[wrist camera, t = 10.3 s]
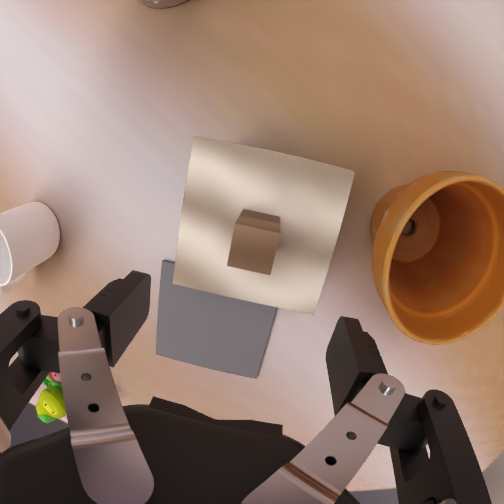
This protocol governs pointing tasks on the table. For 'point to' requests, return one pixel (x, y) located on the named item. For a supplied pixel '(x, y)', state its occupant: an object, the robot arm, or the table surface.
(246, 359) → the mat
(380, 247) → the flower pot
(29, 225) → the cup
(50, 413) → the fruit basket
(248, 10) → the table surface
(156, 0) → the robot arm
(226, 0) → the table surface
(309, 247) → the lid
